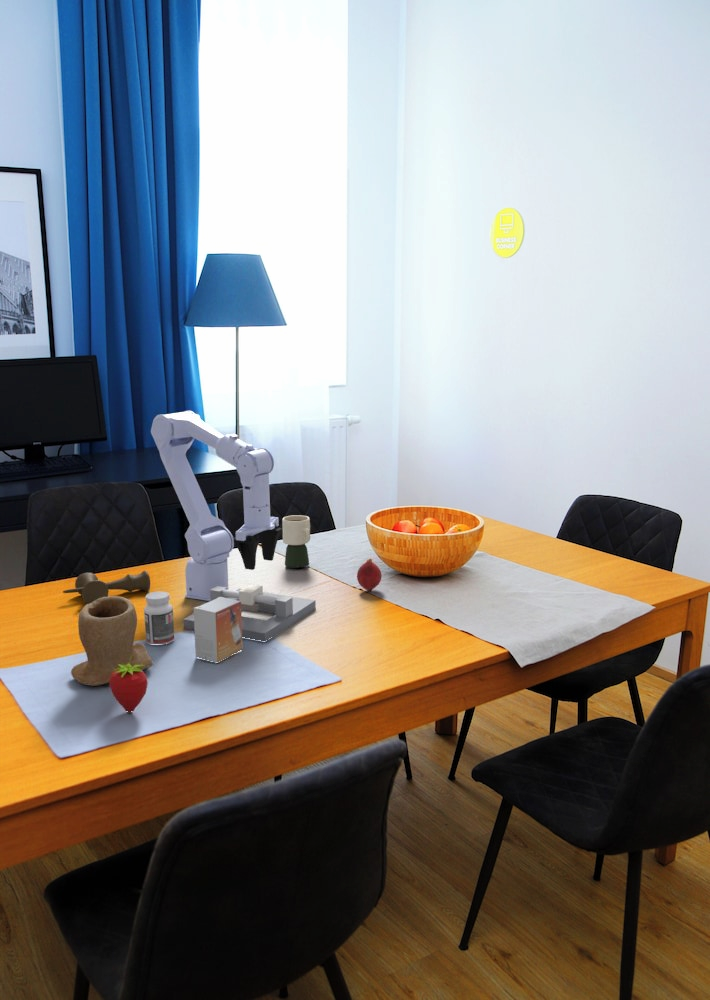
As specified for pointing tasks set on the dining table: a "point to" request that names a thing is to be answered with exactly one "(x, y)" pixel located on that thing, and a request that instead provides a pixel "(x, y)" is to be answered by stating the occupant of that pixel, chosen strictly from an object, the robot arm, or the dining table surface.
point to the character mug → (296, 540)
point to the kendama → (108, 585)
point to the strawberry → (128, 685)
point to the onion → (369, 575)
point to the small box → (218, 629)
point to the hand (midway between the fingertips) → (259, 564)
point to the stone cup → (108, 640)
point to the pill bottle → (158, 618)
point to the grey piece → (280, 605)
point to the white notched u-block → (250, 597)
